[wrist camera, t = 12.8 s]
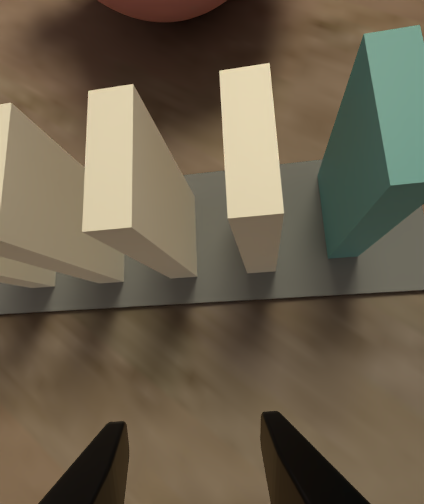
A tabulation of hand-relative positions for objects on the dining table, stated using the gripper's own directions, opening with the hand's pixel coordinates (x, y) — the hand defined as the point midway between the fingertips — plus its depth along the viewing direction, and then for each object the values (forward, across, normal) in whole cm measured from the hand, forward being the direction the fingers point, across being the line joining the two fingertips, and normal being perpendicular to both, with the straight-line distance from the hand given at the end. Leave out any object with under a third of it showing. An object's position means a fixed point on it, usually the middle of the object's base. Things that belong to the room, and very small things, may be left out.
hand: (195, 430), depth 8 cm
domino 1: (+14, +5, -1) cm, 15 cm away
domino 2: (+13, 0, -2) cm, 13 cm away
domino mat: (+14, 0, -1) cm, 14 cm away
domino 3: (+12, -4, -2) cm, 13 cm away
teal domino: (+12, -8, -3) cm, 15 cm away
